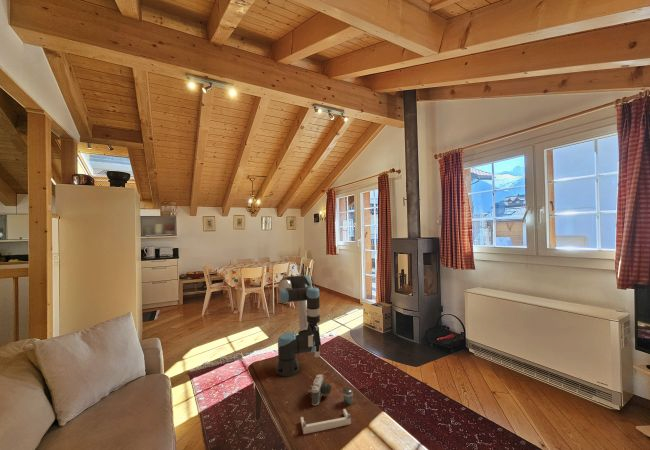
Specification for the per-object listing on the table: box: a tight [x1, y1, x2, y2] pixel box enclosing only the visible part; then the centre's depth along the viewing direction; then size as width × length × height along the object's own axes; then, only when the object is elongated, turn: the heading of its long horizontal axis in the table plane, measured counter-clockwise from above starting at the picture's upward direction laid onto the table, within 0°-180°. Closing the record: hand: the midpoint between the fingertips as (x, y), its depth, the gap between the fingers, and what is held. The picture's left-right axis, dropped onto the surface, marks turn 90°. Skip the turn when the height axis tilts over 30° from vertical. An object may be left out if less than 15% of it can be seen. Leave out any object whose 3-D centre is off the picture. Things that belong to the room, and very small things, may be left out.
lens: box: [342, 387, 354, 407], centre depth 147 cm, size 5×5×7 cm
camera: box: [310, 373, 332, 406], centre depth 153 cm, size 9×16×10 cm, turn 169°
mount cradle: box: [300, 408, 352, 435], centre depth 132 cm, size 8×22×4 cm, turn 104°
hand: (313, 351), depth 163 cm, fingers open, 13 cm apart
